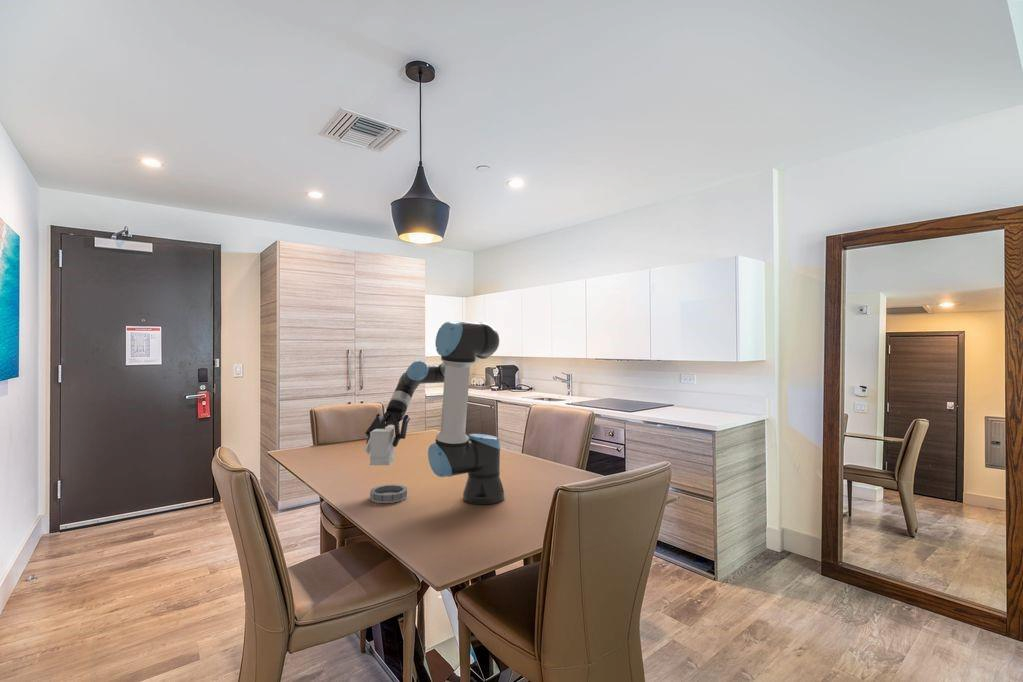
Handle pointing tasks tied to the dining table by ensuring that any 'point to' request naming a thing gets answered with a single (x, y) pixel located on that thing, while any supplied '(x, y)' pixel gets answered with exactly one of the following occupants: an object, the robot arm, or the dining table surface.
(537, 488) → the dining table surface
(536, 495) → the dining table surface
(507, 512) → the dining table surface
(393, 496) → the round holder
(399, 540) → the dining table surface
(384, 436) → the supplement box
